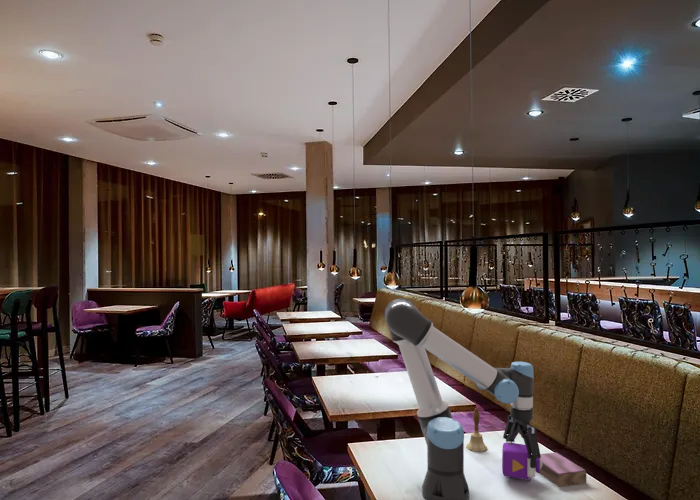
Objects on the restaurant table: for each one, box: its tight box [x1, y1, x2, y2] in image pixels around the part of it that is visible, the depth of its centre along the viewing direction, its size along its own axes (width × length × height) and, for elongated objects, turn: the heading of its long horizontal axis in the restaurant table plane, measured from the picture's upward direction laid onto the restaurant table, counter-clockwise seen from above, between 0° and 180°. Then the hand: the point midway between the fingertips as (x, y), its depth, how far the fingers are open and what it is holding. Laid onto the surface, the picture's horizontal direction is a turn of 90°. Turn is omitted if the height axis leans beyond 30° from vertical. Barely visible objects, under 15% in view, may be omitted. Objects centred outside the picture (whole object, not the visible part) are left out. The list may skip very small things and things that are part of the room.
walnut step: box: [539, 451, 587, 488], centre depth 174 cm, size 11×16×4 cm
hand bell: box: [465, 407, 488, 453], centre depth 199 cm, size 8×8×16 cm
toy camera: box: [501, 441, 542, 480], centre depth 172 cm, size 11×14×10 cm
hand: (520, 468), depth 172 cm, fingers closed on toy camera, 12 cm apart
